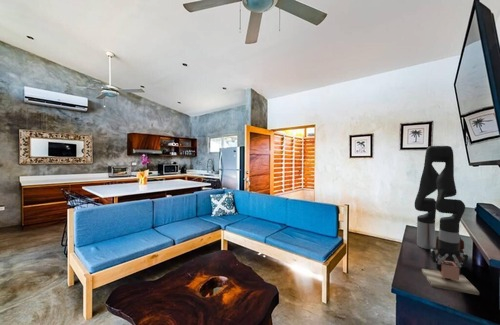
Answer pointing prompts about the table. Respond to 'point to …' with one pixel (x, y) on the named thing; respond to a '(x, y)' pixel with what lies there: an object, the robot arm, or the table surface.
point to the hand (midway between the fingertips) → (448, 272)
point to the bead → (449, 270)
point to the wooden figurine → (461, 247)
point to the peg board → (449, 282)
